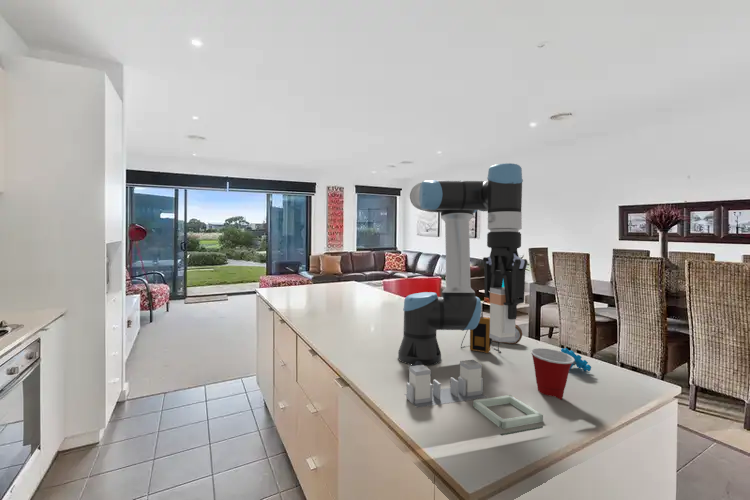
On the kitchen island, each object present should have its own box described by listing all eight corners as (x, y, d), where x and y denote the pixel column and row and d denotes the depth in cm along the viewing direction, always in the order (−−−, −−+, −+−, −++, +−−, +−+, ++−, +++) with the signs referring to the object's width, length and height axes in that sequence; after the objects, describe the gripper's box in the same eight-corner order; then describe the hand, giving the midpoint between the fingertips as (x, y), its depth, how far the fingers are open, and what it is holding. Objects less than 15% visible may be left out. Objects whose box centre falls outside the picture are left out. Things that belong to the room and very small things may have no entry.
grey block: (408, 396, 94) (409, 366, 93) (423, 394, 95) (423, 364, 95) (415, 403, 90) (415, 371, 90) (430, 401, 91) (430, 370, 91)
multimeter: (504, 348, 142) (505, 298, 141) (498, 355, 133) (499, 301, 133) (468, 342, 150) (469, 294, 149) (460, 348, 141) (460, 298, 141)
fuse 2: (459, 390, 98) (459, 361, 98) (472, 388, 100) (473, 359, 99) (467, 396, 94) (468, 366, 94) (481, 394, 96) (481, 364, 95)
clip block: (402, 399, 95) (403, 379, 95) (471, 390, 102) (471, 371, 102) (415, 413, 88) (415, 391, 88) (488, 402, 94) (488, 381, 94)
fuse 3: (489, 337, 86) (490, 287, 86) (504, 336, 87) (504, 287, 87) (500, 342, 82) (500, 289, 82) (515, 340, 84) (515, 289, 83)
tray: (473, 412, 89) (473, 400, 89) (510, 406, 92) (510, 394, 92) (501, 435, 78) (502, 422, 78) (542, 428, 82) (543, 414, 82)
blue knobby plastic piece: (599, 371, 113) (577, 348, 113) (588, 385, 112) (565, 363, 112) (575, 364, 124) (555, 343, 124) (565, 377, 123) (544, 356, 123)
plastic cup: (572, 410, 91) (573, 362, 90) (526, 399, 96) (527, 355, 96) (575, 394, 100) (576, 351, 99) (532, 385, 105) (533, 345, 105)
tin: (522, 344, 149) (522, 323, 148) (521, 346, 146) (522, 325, 146) (484, 339, 155) (484, 319, 155) (483, 341, 152) (483, 321, 152)
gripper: (470, 232, 92) (468, 323, 92) (514, 229, 75) (513, 340, 76) (495, 232, 94) (494, 322, 94) (544, 230, 77) (542, 338, 78)
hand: (502, 330), depth 85 cm, fingers closed on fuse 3, 4 cm apart
